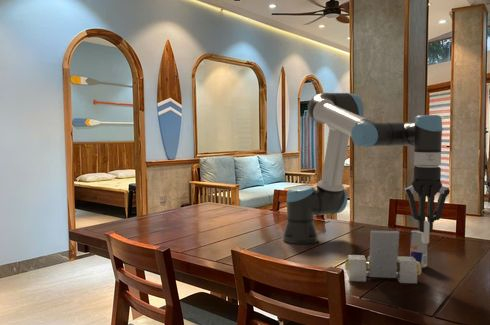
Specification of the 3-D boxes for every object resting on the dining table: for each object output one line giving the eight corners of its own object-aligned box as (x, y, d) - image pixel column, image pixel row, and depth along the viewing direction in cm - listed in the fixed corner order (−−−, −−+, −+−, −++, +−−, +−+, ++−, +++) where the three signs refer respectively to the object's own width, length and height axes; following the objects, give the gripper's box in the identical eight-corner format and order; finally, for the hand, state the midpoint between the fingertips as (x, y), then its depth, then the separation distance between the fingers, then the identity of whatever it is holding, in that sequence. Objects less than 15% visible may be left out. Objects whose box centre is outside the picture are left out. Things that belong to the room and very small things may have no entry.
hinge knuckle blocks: (349, 280, 126) (349, 259, 126) (346, 268, 138) (346, 249, 138) (417, 283, 123) (417, 261, 123) (407, 270, 135) (407, 250, 135)
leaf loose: (371, 232, 121) (369, 225, 126) (369, 277, 126) (367, 268, 130) (399, 232, 120) (396, 225, 124) (396, 278, 125) (392, 269, 129)
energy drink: (407, 263, 142) (407, 230, 142) (421, 263, 143) (422, 229, 142) (414, 268, 137) (415, 233, 136) (430, 268, 137) (430, 233, 137)
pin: (346, 273, 127) (346, 261, 127) (345, 269, 131) (345, 258, 130) (421, 276, 123) (421, 263, 123) (418, 272, 127) (418, 260, 127)
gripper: (407, 167, 120) (406, 244, 122) (454, 167, 118) (452, 246, 120) (401, 164, 128) (400, 238, 130) (445, 165, 126) (443, 239, 127)
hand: (425, 242), depth 125 cm, fingers closed
